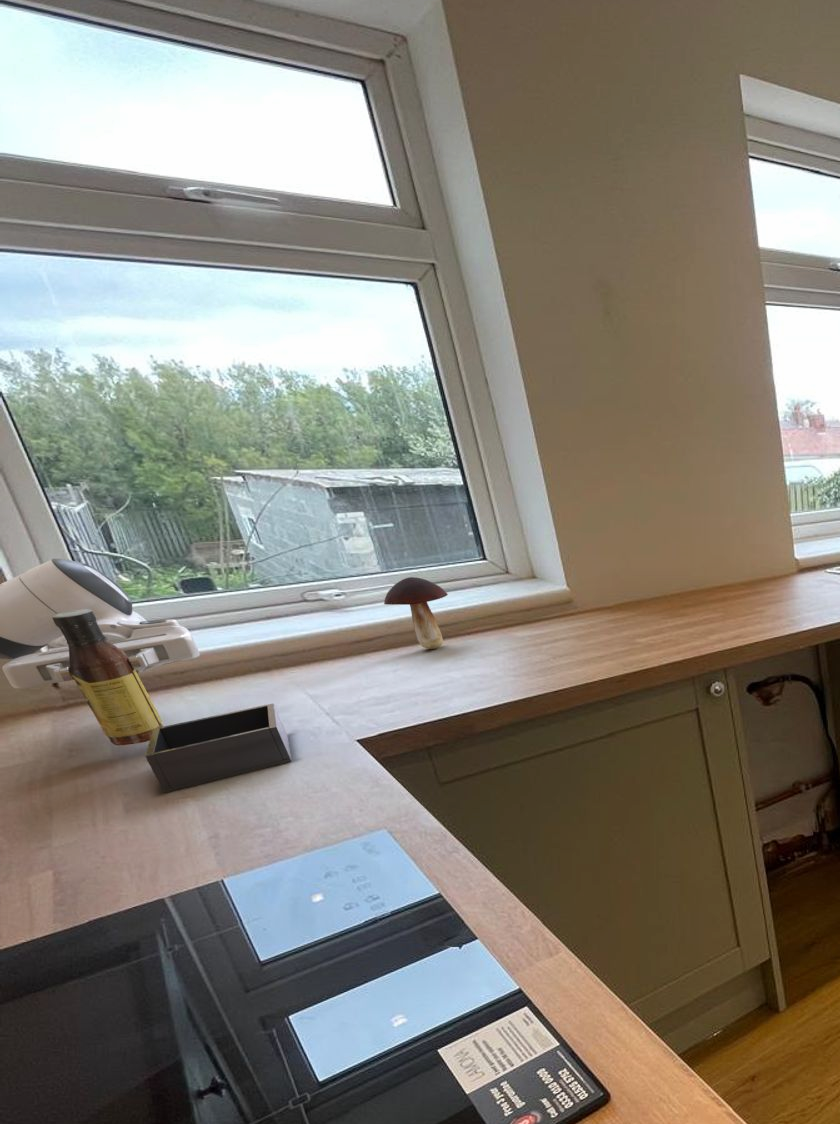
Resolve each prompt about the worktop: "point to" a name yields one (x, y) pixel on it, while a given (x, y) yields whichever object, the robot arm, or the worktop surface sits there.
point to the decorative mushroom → (419, 607)
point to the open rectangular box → (217, 747)
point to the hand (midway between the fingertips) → (101, 669)
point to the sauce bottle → (107, 680)
